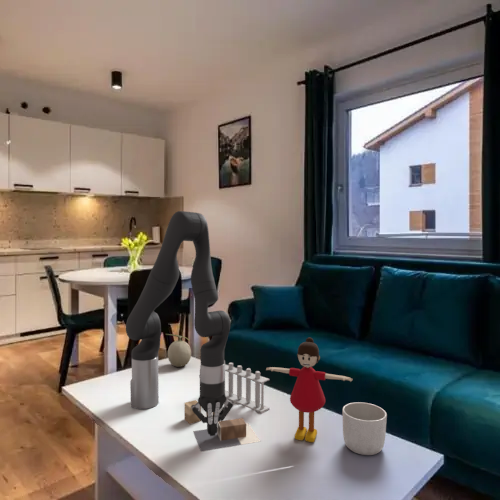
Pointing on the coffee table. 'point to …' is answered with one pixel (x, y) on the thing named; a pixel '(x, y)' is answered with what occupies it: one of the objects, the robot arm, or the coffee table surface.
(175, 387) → the coffee table surface
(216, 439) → the mat
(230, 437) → the walnut block
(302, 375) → the toy
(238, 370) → the test tube rack
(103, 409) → the coffee table surface
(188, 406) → the oak block
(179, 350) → the fruit
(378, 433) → the planter
